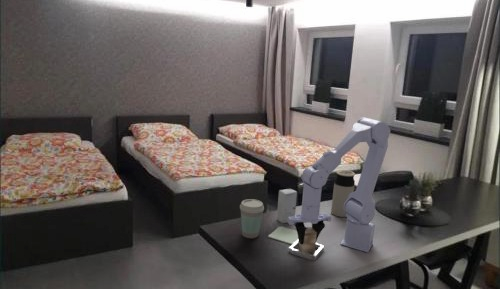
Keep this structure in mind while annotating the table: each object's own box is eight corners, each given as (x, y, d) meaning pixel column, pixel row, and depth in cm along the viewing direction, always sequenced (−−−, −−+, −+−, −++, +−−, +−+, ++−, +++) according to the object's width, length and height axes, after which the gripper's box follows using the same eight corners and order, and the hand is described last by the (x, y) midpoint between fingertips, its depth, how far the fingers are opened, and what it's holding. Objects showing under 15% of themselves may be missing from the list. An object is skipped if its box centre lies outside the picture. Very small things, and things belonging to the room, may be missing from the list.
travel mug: (354, 216, 156) (359, 174, 151) (338, 218, 153) (343, 176, 148) (343, 209, 163) (347, 169, 159) (327, 210, 160) (331, 170, 156)
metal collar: (324, 249, 127) (324, 245, 127) (314, 261, 119) (314, 256, 119) (299, 241, 132) (299, 237, 131) (287, 252, 124) (288, 248, 123)
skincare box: (282, 223, 145) (285, 194, 142) (275, 219, 148) (278, 190, 146) (295, 220, 148) (297, 191, 145) (288, 216, 152) (290, 188, 149)
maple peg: (309, 246, 128) (311, 226, 126) (314, 252, 124) (316, 232, 122) (298, 247, 127) (300, 227, 125) (303, 253, 123) (305, 233, 121)
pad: (304, 234, 137) (305, 233, 137) (293, 245, 129) (293, 244, 129) (280, 227, 142) (280, 226, 142) (267, 237, 134) (267, 236, 133)
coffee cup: (256, 228, 140) (258, 197, 137) (266, 238, 132) (268, 206, 130) (235, 230, 137) (236, 199, 134) (243, 241, 129) (245, 208, 127)
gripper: (295, 210, 116) (291, 250, 119) (337, 207, 120) (332, 246, 123) (286, 201, 122) (283, 239, 125) (326, 199, 127) (322, 236, 130)
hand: (307, 242), depth 125 cm, fingers closed on maple peg, 4 cm apart
